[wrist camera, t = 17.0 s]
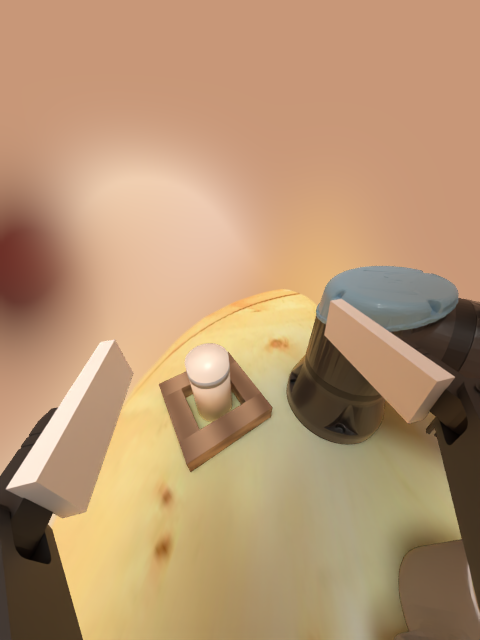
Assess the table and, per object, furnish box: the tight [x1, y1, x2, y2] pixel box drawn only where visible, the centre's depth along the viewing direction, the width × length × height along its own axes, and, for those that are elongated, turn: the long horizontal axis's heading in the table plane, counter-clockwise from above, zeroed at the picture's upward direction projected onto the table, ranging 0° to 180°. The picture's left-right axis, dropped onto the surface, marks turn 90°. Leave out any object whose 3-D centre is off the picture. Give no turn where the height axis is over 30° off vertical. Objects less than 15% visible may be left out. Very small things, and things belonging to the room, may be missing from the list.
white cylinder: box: [185, 343, 232, 422], centre depth 31 cm, size 6×6×12 cm
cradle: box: [159, 352, 272, 472], centre depth 34 cm, size 14×14×3 cm
